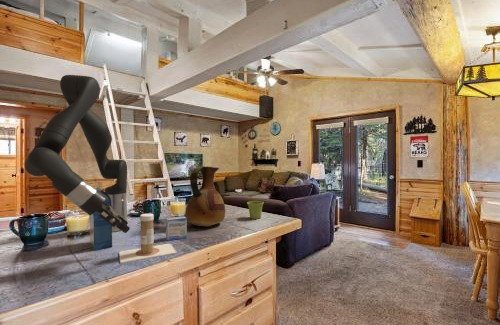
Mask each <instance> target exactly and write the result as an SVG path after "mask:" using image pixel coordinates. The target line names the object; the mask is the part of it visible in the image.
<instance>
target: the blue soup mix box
mask: <svg viewBox="0 0 500 325" xmlns="http://www.w3.org/2000/svg"><path fill="white" fill-rule="evenodd" d="M95 188H96V189H98V190H99V191H100V192H102V193H103V194H104V195H105V196H107V198H108V199H107V201H106V202H105V203H106V204H107V205H108V206H111V199H110V197H109V196H108V194H106V193H105V190H103V182H102V181H99V180H97V184H96V187H95ZM105 203H104V204H105ZM99 215H100V213H99V212H97V211H96V212H95V213H93V214H92V215H89V242H90V244H91V248H92V249H93V251H99V250H103V249H104V250H105V249H109V248H112V247H113V232H112V225H111V224H109V223H108V222H107V221H105V220H104V219H103V218H101V217H100V216H99Z"/></svg>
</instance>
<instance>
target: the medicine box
mask: <svg viewBox="0 0 500 325" xmlns="http://www.w3.org/2000/svg"><path fill="white" fill-rule="evenodd" d="M187 224H188V222H187V218H186V217H185V216H175V217H167V218H165V238H166V240H167V241H168V242H169V241H177V240H182V239H187V237H188V234H187V232H188V231H187V230H188V228H187Z"/></svg>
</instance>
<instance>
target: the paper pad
mask: <svg viewBox="0 0 500 325" xmlns="http://www.w3.org/2000/svg"><path fill="white" fill-rule="evenodd" d="M153 249H154V251H153V252H151V253H148V254H142V253H141V252H140V251H141V247H140V248H133V249H127V250H120V251H118V253H119V254H118V255H119V263H120V264H126V263H132V262H136V261H142V260H147V259H153V258H159V257H163V256H171V255H175V254H177V253H178V252H177V250H176V249H175V248H174V246H173V245H172V243H165V244H164V243H163V244H159V245H153Z"/></svg>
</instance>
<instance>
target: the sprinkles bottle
mask: <svg viewBox="0 0 500 325" xmlns="http://www.w3.org/2000/svg"><path fill="white" fill-rule="evenodd" d="M154 217H155V215H154V214H153V213H141V214H140V215H139V221H140V248H141V251H140V252H141V253H142V254H148V253H151V252H153V251H154V249H153V246H154V242H155V240H154V236H155V235H154V234H155V233H154V219H155V218H154Z"/></svg>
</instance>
